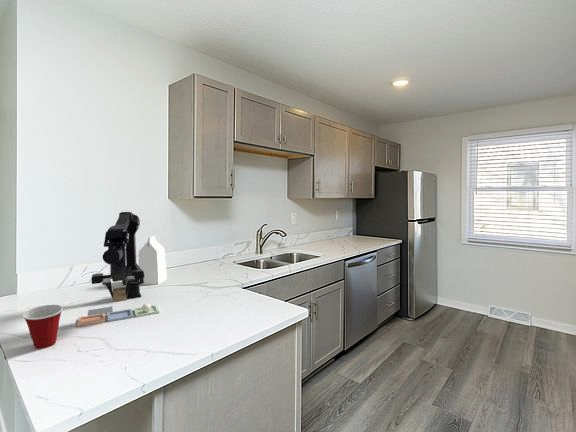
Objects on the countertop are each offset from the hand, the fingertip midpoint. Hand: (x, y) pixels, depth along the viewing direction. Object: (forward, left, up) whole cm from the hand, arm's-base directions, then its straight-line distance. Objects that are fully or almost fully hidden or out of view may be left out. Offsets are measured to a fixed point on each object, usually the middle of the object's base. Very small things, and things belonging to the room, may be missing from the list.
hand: (119, 296), depth 131 cm
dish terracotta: (0, -10, -9) cm, 13 cm away
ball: (0, +10, -8) cm, 13 cm away
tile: (-10, -7, -9) cm, 15 cm away
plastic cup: (+15, -23, -9) cm, 29 cm away
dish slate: (0, 0, -9) cm, 9 cm away
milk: (-51, +19, -9) cm, 55 cm away
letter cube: (0, 0, -1) cm, 1 cm away
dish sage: (0, +10, -9) cm, 13 cm away
